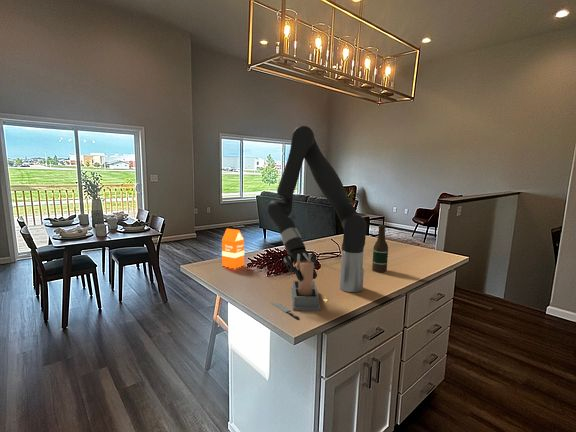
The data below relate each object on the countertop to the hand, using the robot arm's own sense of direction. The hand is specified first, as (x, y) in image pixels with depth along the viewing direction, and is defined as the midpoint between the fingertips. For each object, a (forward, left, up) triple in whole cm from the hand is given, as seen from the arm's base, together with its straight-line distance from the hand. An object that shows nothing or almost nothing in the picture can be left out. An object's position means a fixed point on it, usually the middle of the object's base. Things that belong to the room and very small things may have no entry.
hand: (308, 279), depth 116 cm
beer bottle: (-41, -44, -11) cm, 61 cm away
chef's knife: (+9, +3, -11) cm, 14 cm away
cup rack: (+1, -6, -10) cm, 12 cm away
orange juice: (+36, -48, -11) cm, 61 cm away
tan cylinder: (+1, -2, -6) cm, 6 cm away
